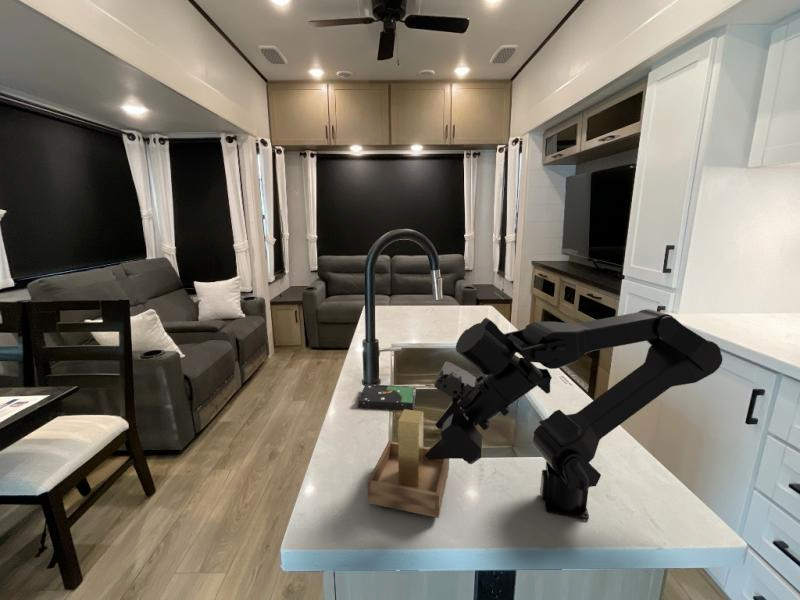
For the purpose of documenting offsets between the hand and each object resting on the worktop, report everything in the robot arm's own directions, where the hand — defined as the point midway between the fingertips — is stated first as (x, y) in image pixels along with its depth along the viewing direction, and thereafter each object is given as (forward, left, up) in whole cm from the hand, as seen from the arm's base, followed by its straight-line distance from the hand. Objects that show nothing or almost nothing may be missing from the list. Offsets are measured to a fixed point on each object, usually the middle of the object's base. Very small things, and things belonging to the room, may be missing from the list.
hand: (432, 440), depth 61 cm
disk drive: (+18, -31, -11) cm, 38 cm away
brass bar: (+4, 0, -8) cm, 9 cm away
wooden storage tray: (+4, 0, -10) cm, 11 cm away
